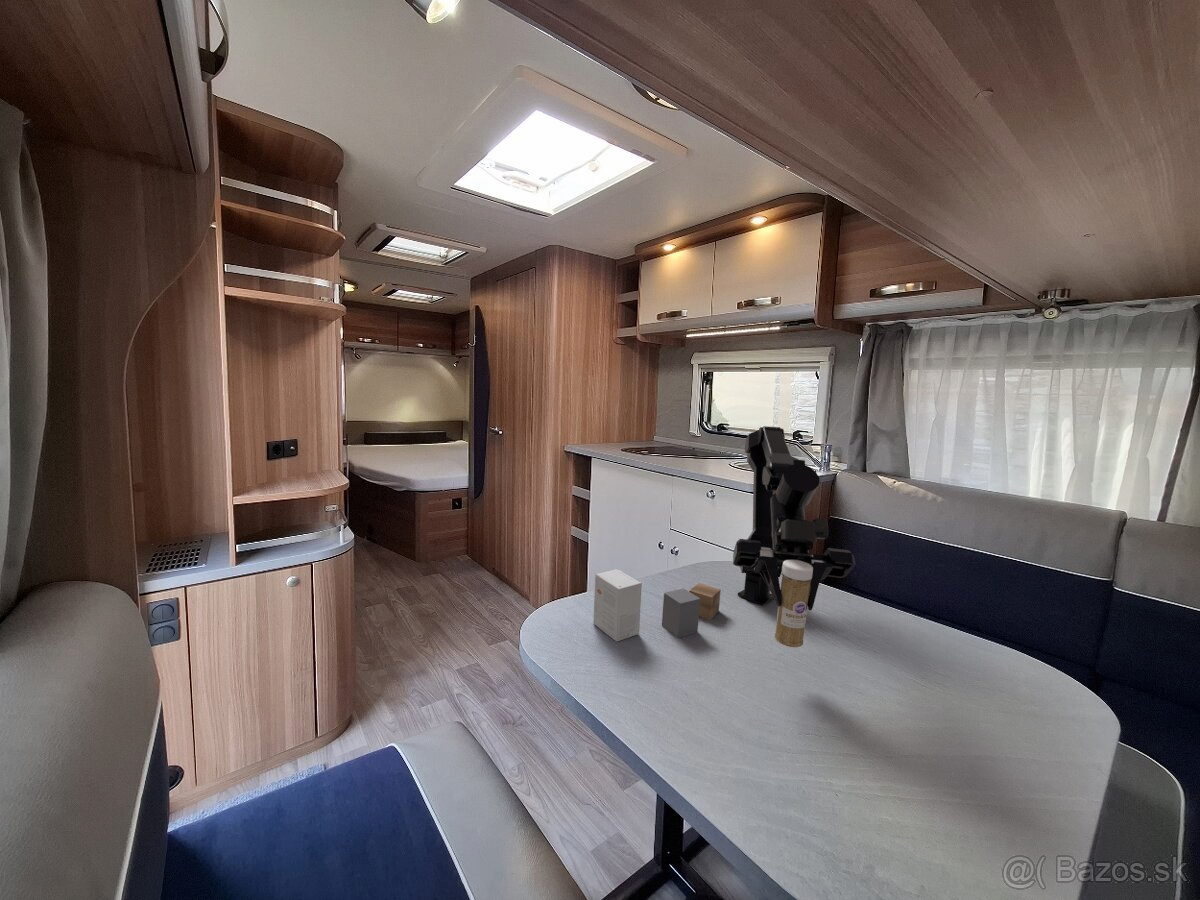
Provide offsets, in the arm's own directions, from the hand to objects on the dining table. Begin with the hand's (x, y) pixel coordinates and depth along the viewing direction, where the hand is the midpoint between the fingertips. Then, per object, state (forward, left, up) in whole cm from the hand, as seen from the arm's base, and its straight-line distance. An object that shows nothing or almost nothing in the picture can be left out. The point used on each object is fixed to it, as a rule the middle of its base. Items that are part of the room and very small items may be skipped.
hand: (794, 607), depth 76 cm
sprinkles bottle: (-1, -1, -7) cm, 7 cm away
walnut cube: (-11, -23, -13) cm, 29 cm away
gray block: (-1, -22, -13) cm, 26 cm away
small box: (+9, -30, -14) cm, 34 cm away
